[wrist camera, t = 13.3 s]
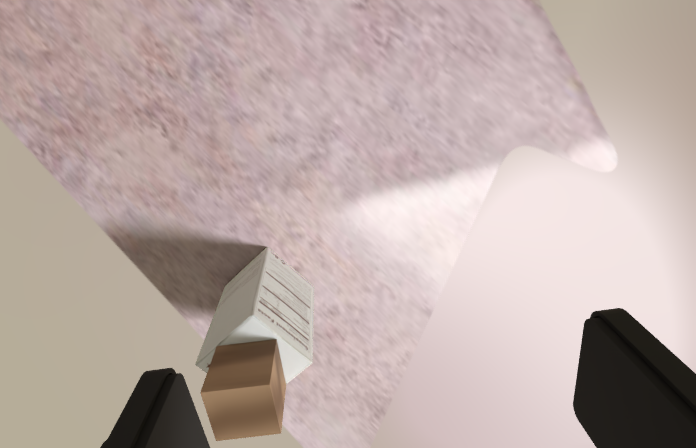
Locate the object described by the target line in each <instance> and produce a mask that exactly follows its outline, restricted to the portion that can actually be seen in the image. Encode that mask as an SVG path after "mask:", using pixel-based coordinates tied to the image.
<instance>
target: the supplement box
mask: <svg viewBox="0 0 696 448" xmlns="http://www.w3.org/2000/svg"><path fill="white" fill-rule="evenodd" d="M313 318H314V286H313V285H312V284H311V283H310V282H309V281H308V280H306V279H305V278H304V277H303V276H302V275H301V274H299V273H298V272H297V271H296V270H295V269H293V268H292V267H291V266H290V265H289V264H287V263H286V262H285V261H284V260H283V259H282V258H280V257H279V256H278V255H277V254H275V253H274V252H273V251H272V250H271V249H269V248H268V247H267V248H265V249H264V250H263V251H262V252H261V253H260V254H259V255H258V256H257V257H255V258H254V259H253V260H252V261H251V262H250V263H249V264H248V265H247V266H246V267H245V268H244V269H243V270H242V271H241V272H239V273H238V274H237V275H236V276H235V277H234V278H233V279H232V280H231V281H230V282H229V283H228V284H227V285H226V286H225V287H224V290H223V293H222V295H221V298H220V301H219V303H218V306H217V309H216V311H215V314H214V317H213V319H212V322H211V324H210V327H209V330H208V332H207V335H206V338H205V340H204V343H203V346H202V348H201V351H200V353H199V356H198V359H197V361H196V366H198V367H199V368H201V369H202V370H203V371H205V372H206V373H207V372H208V369H209V366H210V364H211V361H212V358H213V355H214V352H215V349H216V346H221V345H230V344H239V343H247V342H256V341H265V340H273V339H277V343H278V348H279V353H280V358H281V362H282V367H283V372H284V377H285V381H286V384H287V383H288V382H289V381H291V380H292V379H293V378H294V377H296V376H297V375H298V374H299V373H301V372H302V371H303V370H305V369H306V368H307V367H308V366H309V365H311V364H312V357H313Z"/></svg>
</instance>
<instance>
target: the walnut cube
mask: <svg viewBox="0 0 696 448" xmlns="http://www.w3.org/2000/svg"><path fill="white" fill-rule="evenodd" d="M285 390H286V381H285V377H284V372H283V367H282V362H281V358H280V353H279V348H278V343H277V339H273V340H265V341H256V342H247V343H239V344H230V345H221V346H216V349H215V352H214V355H213V358H212V361H211V364H210V366H209V369H208V372H207V376H206V378H205V381H204V384H203V387H202V390H201V396H202V399H203V402H204V405H205V408H206V411H207V414H208V417H209V420H210V423H211V427H212V430H213V433H214V436H215V439H216V441H220V440H229V439H237V438H246V437H255V436H263V435H271V434H280V433H281V428H282V419H283V409H284V400H285Z"/></svg>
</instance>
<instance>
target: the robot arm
mask: <svg viewBox="0 0 696 448" xmlns="http://www.w3.org/2000/svg"><path fill="white" fill-rule="evenodd" d="M573 407H574V411H575V414H576V417H577V418H578V420H579V422H580V423H581V425H582V426H583V428H584V429H585V431H586V432H587V434H588V435H589V437H590V438H591V440H592V441H593V443H594V444H595V446H596V447H597V448H696V374H695V373H694V372H693V371H692V370H691V369H690V368H689V367H687V366H686V365H685V364H684V363H683V362H682V361H681V360H680V359H679V358H678V357H676V356H675V355H674V354H673V353H672V352H671V351H670V350H668V349H667V348H666V347H665V346H664V345H663V344H662V343H661V342H660V341H659V340H658V339H657V338H655V337H654V336H653V335H652V334H651V333H650V332H649V331H648V330H646V329H645V328H644V327H643V326H642V325H641V324H640V323H639V322H638V321H637V320H635V319H634V318H633V317H632V316H631V315H630V314H629V313H628V312H627V311H625V310H624V309H620V308H617V309H609V310H601V311H595V312H593V313H592V314H591V317H590V319H587V320H586V321H585V323H584V329H583V336H582V344H581V351H580V358H579V365H578V372H577V380H576V386H575V394H574V401H573ZM100 448H210V446H209V444H208V441H207V438H206V436H205V434H204V430H203V427H202V425H201V422H200V420H199V417H198V414H197V412H196V409H195V406H194V403H193V401H192V398H191V396H190V393H189V390H188V387H187V385H186V382H185V379H184V377H183V375H182V374H181V373H179V374H176V372H175V370H174V369H172V368H167V369H159V370H152V371H146V372H144V373H143V375H142V376H141V378H140V380H139V382H138V383H137V385H136V387H135V389H134V391H133V393H132V395H131V397H130V398H129V400H128V402H127V404H126V406H125V408H124V410H123V411H122V413H121V415H120V417H119V419H118V421H117V423H116V425H115V426H114V428H113V430H112V432H111V434H110V436H109V438H108V439H107V440H106V441H105V442H104V443H103V444H102V446H101V447H100Z"/></svg>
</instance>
